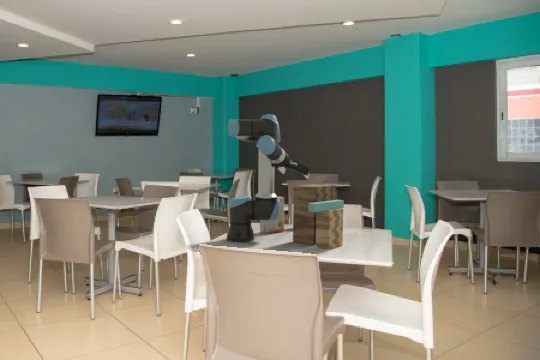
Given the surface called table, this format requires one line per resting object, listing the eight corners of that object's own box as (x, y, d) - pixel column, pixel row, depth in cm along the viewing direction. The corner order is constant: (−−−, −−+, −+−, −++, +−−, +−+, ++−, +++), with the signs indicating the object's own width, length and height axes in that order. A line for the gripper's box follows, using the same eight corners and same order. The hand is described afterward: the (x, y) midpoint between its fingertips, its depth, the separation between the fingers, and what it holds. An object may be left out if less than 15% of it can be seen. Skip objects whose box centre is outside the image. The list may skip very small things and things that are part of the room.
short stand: (328, 249, 240) (329, 210, 239) (315, 246, 245) (316, 209, 244) (342, 245, 249) (343, 208, 247) (329, 243, 254) (330, 207, 253)
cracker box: (278, 230, 294) (279, 196, 292) (284, 232, 289) (284, 197, 287) (259, 232, 286) (259, 197, 285) (264, 234, 281) (264, 198, 280)
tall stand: (313, 245, 249) (314, 187, 247) (292, 241, 259) (293, 185, 257) (334, 240, 262) (335, 185, 260) (313, 237, 272) (314, 184, 270)
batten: (314, 212, 234) (314, 203, 234) (308, 211, 237) (308, 203, 236) (343, 208, 251) (343, 200, 251) (337, 207, 254) (337, 199, 254)
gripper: (253, 159, 227) (272, 176, 245) (299, 168, 214) (316, 185, 232) (258, 145, 229) (277, 162, 246) (305, 153, 216) (321, 171, 234)
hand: (296, 173), depth 239 cm, fingers open, 13 cm apart
